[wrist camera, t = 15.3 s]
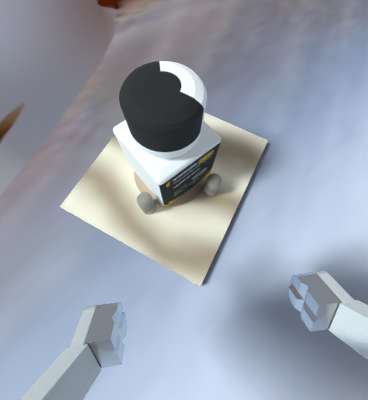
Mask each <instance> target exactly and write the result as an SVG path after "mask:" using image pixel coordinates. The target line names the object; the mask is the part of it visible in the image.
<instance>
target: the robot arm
mask: <svg viewBox="0 0 368 400" xmlns="http://www.w3.org/2000/svg"><path fill="white" fill-rule="evenodd" d="M291 282H292V285H291V286H290V287H289V291H288V294H289V298H290V301H291V303H292V305H293V306H294V308H295V309H297V310H298V311H300V312H301V319H302V320H303V322H304V323H305V325H306V326H307V328H308V329H309V331H310V332H313V331H321V330H328V329H329V331H330V332H331V333H333V334H334V335H335V336H337V337H338V338H339V339H340V340H342V341H343V342H344V343H346V344H347V345H348V346H350V347H351V348H352V349H354V350H355V351H356V352H357V353H359V354H360V355H361V356H363V357H364V358H365V359H367V360H368V305H367V304H365V303H363V302H361V301H359V300H354V299H353V298H352V297H351V296H350V295H349V294H348V293H347V292H346V291H345V290H344V289H343V288H342V287H341V286H340V285H339V284H338V283H337V282H336V281H335V280H334V279H333V278H332V277H331V276H330V275H329V274H328V273H327V272H326V271H318V272H310V273H304V274H299V275H293V276H292V277H291ZM122 308H123V306H122V304H121V302H119V303H111V304H103V305H95V306H88V307H86V308H85V309H84V311H83V313H82V316H81V318H80V321H79V324H78V327H77V329H76V332H75V335H74V337H73V340H72V343H71V346H70V347H67V348H66V349H65V350H64V351H63V352H62V353H61V354H60V355H59V356H58V357H57V359H56V360H55V361H54V362H53V363H52V364H51V365H50V366H49V367H48V369H47V370H46V371H45V372H44V373H43V374H42V375H41V376H40V377H39V378H38V380H37V381H36V382H35V383H34V384H33V385H32V386H31V387H30V388H29V390H28V391H27V392H26V393H25V394H24V395H23V396H22V397H21V398H20V400H83V399H84V397H85V395H86V394H87V392H88V390H89V389H90V387H91V386H92V384H93V382H94V381H95V379H96V377H97V376H98V374H99V373H100V371H101V368H104V367H109V366H114V365H119V364H122V358H123V351H124V345H123V342H122V340H123V339H124V337H125V336H126V330H127V320H126V315H125V313H124V312H122Z"/></svg>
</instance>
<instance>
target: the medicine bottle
mask: <svg viewBox="0 0 368 400" xmlns="http://www.w3.org/2000/svg"><path fill="white" fill-rule="evenodd" d="M119 101H120V105H121V109H122V111H123V114H124V117H125V119H126V120H125V121H123V122H122V123H120V124H118V125H117V126H115V127H114V128H113V132H114V134H115V136H116V138H117V140H118V142H119V144H120V146H121V148H122V150H123V152H124V154H125V156H126V158H127V160H128V162H129V165H130V166H131V168H132V169H133V170H134V171H135V173H136V174H137V175H138V176H139V177H140V179H141V180H142V181H143V182H144V183H145V185H146V186H147V187H148V188H149V190H150V191H151V192H152V193H153V194H154V196H155V197H156V198H157V199H158V200H159V202H160V203H161V204H162V205H163V206H164V207H167V206H168V205H170V204H171V203H172V202H174V201H175V200H176V199H178V198H179V197H180V196H182V195H183V194H184V193H185V192H187V191H188V190H189V189H191V188H192V187H193V186H195V185H196V184H197V183H198V182H200V181H201V180H202V179H204V178H205V177H206V176H208V175H209V174H210V173H211V170H212V167H213V164H214V161H215V158H216V155H217V152H218V149H219V146H220V142H221V137H220V136H219V135H218V134H217V133H216V132H215V131H214V130H213V129H212V128H211V127H210V126H209V125H208V124H207V123H206V122H205V121H204V120H203V119H204V113H205V107H206V101H207V93H206V89H205V86H204V84H203V82H202V80H201V79H200V78H199V77H198V76H197V74H195V73H194V72H193V71H192V70H191V69H189V68H188V67H186V66H184V65H182V64H179V63H175V62H170V61H157V62H151V63H148V64H145V65H142V66H140V67H138V68H137V69H135V70H134V71H133V72H131V73H130V75H129V76H128V77H127V78H126V80H125V81H124V83H123V85H122V87H121V90H120V94H119Z"/></svg>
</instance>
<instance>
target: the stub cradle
mask: <svg viewBox="0 0 368 400" xmlns="http://www.w3.org/2000/svg"><path fill="white" fill-rule="evenodd" d="M203 120H204V121H205V122H206V123H207V124H208V125H209V126H210V127H211V128H212V129H213V130H214V131H215V132H216V133H217V134H218V135H219V136H220V137H221V142H220V146H219V149H218V152H217V155H216V158H215V161H214V164H213V167H212V170H211V173H210V174H209V175H208V176H206V177H205V178H204V179H202V180H201V181H200V182H198V183H197V184H196V185H195V186H193V187H192V188H191V189H189V190H188V191H187V192H185V193H184V194H183V195H182V196H180V197H179V198H178V199H176V200H175V201H174V202H172V203H171V204H170V205H168V206H167V207H164V206H163V205H162V204H161V203H160V202H159V200H158V199H157V198H156V197H155V196H154V194H153V193H152V192H151V191H150V190H149V188H148V187H147V186H146V185H145V183H144V182H143V181H142V180H141V179H140V177H139V176H138V175H137V174H136V173H135V171H134V170H133V169H132V168H131V166H130V165H129V162H128V160H127V158H126V156H125V154H124V152H123V150H122V148H121V146H120V144H119V142H118V140H117V138H116V136H115V135H114V137H113V138H112V139H111V141H110V142H109V143H108V144H107V146H106V147H105V148H104V150H103V151H102V152H101V154H100V155H99V156H98V158H97V159H96V160H95V161H94V163H93V164H92V165H91V167H90V168H89V169H88V171H87V172H86V173H85V174H84V176H83V177H82V178H81V180H80V181H79V182H78V184H77V185H76V186H75V188H74V189H73V190H72V191H71V193H70V194H69V195H68V197H67V198H66V199H65V201H64V202H63V203H62V205H61V206H60V207H61V208H63V209H65V210H66V211H68V212H70V213H72V214H74V215H75V216H77V217H79V218H81V219H82V220H84V221H86V222H88V223H89V224H91V225H93V226H95V227H97V228H98V229H100V230H102V231H104V232H105V233H107V234H109V235H111V236H112V237H114V238H116V239H118V240H119V241H121V242H123V243H125V244H127V245H128V246H130V247H132V248H134V249H135V250H137V251H139V252H141V253H142V254H144V255H146V256H148V257H150V258H151V259H153V260H155V261H157V262H158V263H160V264H162V265H164V266H165V267H167V268H169V269H171V270H172V271H174V272H176V273H178V274H180V275H181V276H183V277H185V278H187V279H188V280H190V281H192V282H194V283H195V284H197V285H199V286H201V284H202V282H203V280H204V278H205V276H206V274H207V271H208V269H209V267H210V265H211V263H212V261H213V258H214V256H215V254H216V252H217V250H218V248H219V245H220V243H221V241H222V239H223V237H224V235H225V232H226V230H227V228H228V226H229V224H230V222H231V220H232V217H233V215H234V213H235V211H236V209H237V207H238V204H239V202H240V200H241V198H242V196H243V194H244V191H245V189H246V187H247V185H248V183H249V181H250V179H251V176H252V174H253V172H254V170H255V168H256V166H257V163H258V161H259V159H260V157H261V155H262V153H263V150H264V148H265V146H266V144H267V142H268V140H266V139H264V138H261V137H259V136H257V135H255V134H252V133H250V132H248V131H245V130H243V129H241V128H239V127H236V126H234V125H232V124H229V123H227V122H225V121H223V120H220V119H218V118H216V117H214V116H211V115H209V114H207V113H204V119H203Z"/></svg>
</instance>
